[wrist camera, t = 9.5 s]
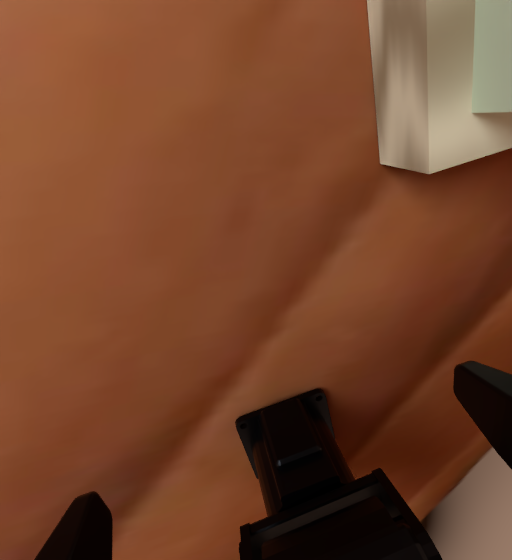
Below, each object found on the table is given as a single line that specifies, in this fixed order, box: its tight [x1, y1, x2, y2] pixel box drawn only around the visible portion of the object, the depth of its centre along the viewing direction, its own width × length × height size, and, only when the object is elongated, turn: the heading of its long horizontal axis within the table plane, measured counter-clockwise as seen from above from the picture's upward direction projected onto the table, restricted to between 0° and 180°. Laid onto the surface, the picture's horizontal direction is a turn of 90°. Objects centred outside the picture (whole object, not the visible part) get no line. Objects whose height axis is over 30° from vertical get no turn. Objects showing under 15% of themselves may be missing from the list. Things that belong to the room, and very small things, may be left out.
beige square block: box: [367, 0, 512, 174], centre depth 15 cm, size 10×10×4 cm
